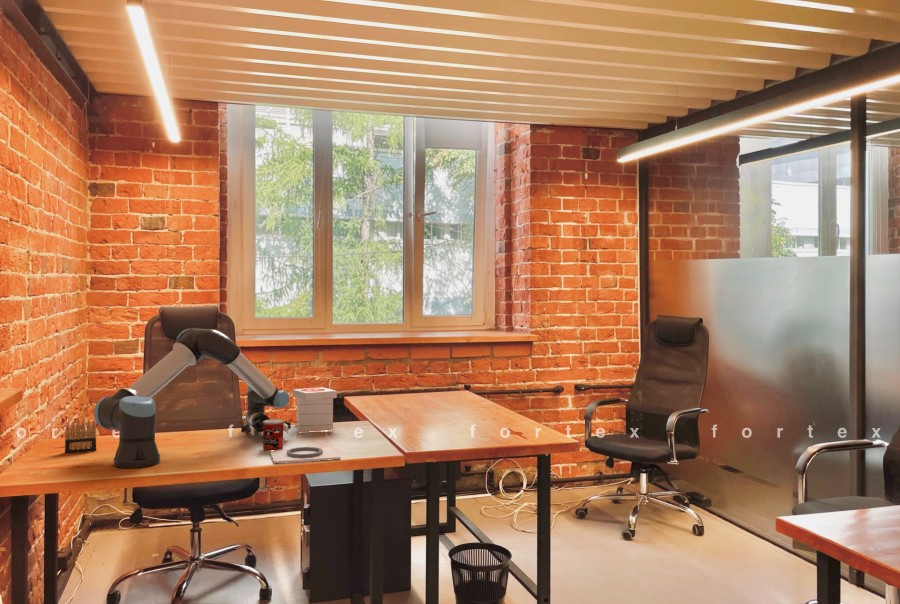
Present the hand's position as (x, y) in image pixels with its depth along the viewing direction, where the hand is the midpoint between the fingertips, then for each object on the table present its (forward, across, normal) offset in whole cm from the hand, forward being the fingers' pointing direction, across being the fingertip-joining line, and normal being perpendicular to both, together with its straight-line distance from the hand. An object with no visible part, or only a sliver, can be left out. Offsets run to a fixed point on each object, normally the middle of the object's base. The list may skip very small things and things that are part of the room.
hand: (270, 430), depth 278 cm
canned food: (+7, 0, -6) cm, 9 cm away
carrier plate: (+26, -8, -6) cm, 27 cm away
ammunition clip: (-16, +68, -6) cm, 70 cm away
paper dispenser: (-30, -26, -6) cm, 41 cm away
